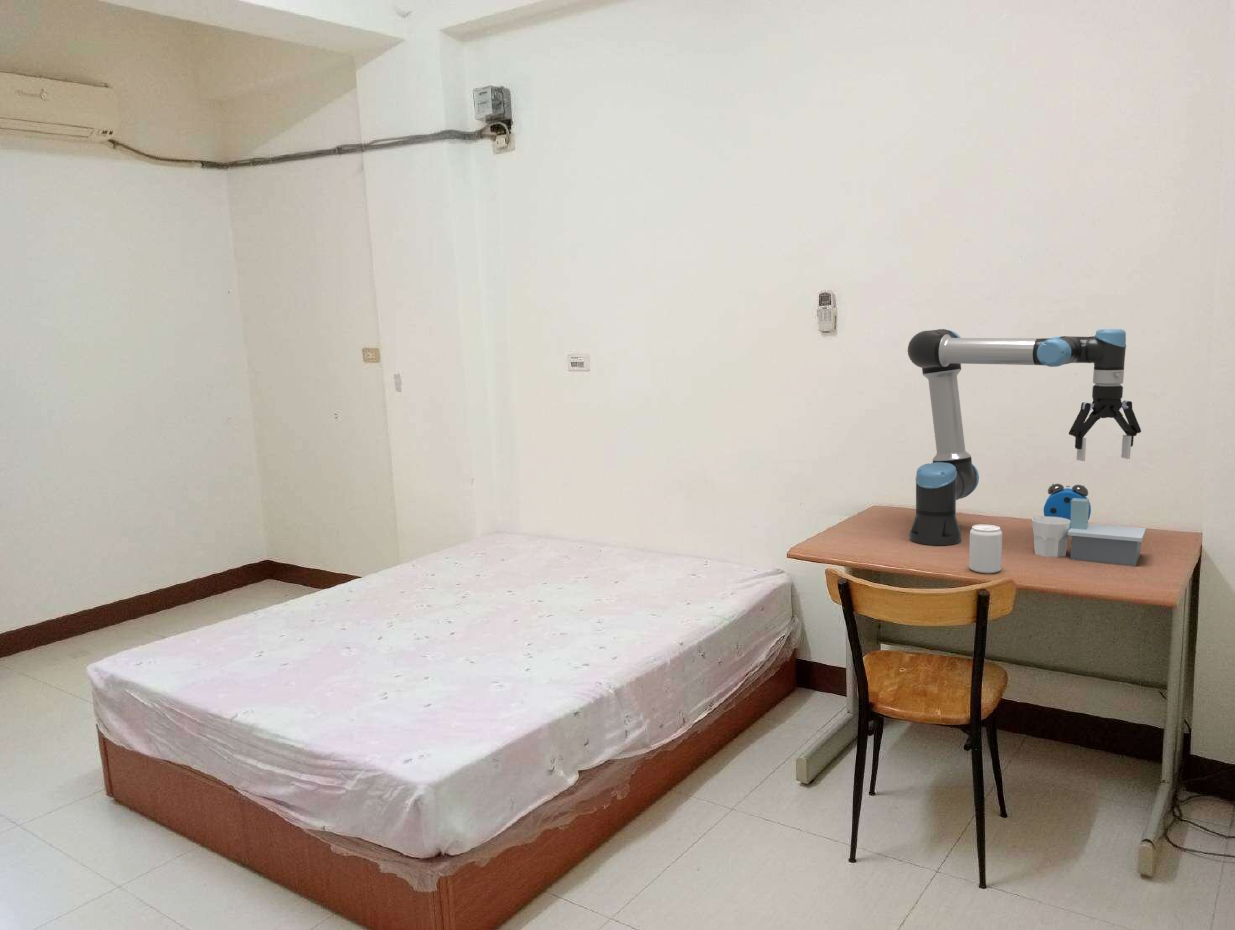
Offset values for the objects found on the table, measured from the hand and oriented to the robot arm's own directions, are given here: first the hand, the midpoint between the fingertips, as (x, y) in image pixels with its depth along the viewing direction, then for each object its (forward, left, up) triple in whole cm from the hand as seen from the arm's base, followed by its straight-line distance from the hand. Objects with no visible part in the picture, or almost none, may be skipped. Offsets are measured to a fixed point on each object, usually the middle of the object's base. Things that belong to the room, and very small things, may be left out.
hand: (1103, 459), depth 257 cm
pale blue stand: (+3, -8, -20) cm, 21 cm away
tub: (+2, -8, -27) cm, 28 cm away
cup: (-11, -10, -27) cm, 31 cm away
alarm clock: (-12, +21, -27) cm, 36 cm away
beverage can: (-24, -35, -27) cm, 50 cm away
